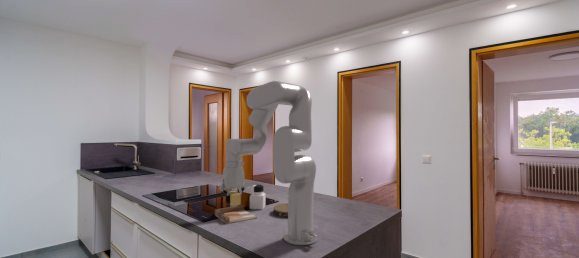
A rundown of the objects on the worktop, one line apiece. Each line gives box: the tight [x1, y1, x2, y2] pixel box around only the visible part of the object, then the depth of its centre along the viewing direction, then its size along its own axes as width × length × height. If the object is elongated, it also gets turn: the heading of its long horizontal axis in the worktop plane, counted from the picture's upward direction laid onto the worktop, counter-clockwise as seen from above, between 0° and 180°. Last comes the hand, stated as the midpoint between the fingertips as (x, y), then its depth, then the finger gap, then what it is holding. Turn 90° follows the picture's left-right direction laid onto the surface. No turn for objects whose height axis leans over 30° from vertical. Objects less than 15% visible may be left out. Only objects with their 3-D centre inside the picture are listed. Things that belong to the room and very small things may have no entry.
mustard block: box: [229, 190, 242, 207], centre depth 131 cm, size 4×8×5 cm, turn 32°
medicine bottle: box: [249, 184, 266, 210], centre depth 146 cm, size 7×7×12 cm
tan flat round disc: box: [273, 202, 288, 219], centre depth 137 cm, size 16×16×3 cm
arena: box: [213, 204, 258, 225], centre depth 130 cm, size 16×15×2 cm
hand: (233, 202), depth 131 cm, fingers closed on mustard block, 4 cm apart
